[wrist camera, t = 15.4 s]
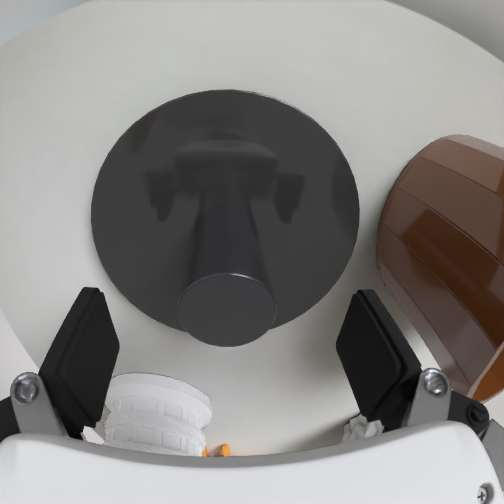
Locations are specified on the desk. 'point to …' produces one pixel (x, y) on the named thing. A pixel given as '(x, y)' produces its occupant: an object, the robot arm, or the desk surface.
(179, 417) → the decorative container
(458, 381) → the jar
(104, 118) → the desk surface
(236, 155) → the lid
